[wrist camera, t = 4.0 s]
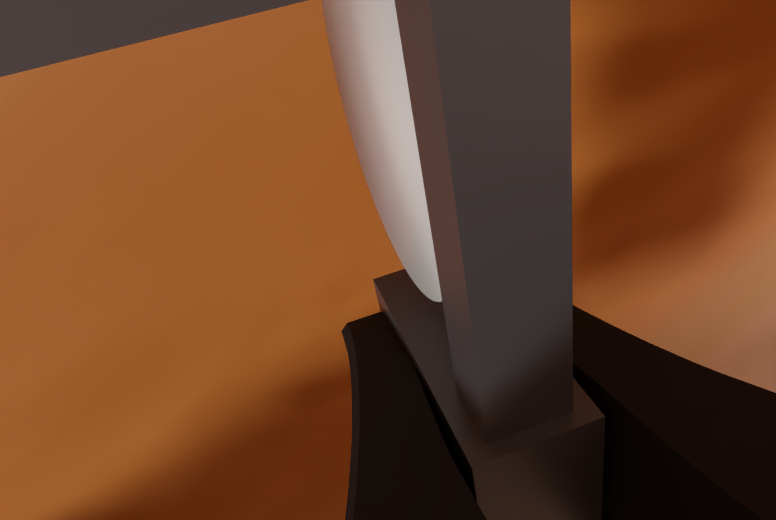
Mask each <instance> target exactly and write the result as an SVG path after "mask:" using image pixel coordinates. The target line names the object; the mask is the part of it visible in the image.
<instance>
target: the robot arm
mask: <svg viewBox="0 0 776 520" xmlns="http://www.w3.org/2000/svg"><path fill="white" fill-rule="evenodd" d="M342 334H343V338H344V341H345V345H346V348H347V352H348V356H349V362H350V371H351V384H352V447H351V462H350V477H349V490H348V500H347V509H346V517H345V520H487V519H486V517H485V516H484V514H483V512H482V510H481V509H480V507H479V505H478V503H477V502H476V500H475V498H474V496H473V495H472V493H471V491H470V489H469V488H468V486H467V484H466V482H465V481H464V479H463V477H462V475H461V473H460V472H459V470H458V468H457V466H456V465H455V463H454V461H453V459H452V457H451V455H450V452H449V450H448V448H447V446H446V444H445V442H444V440H443V437H442V435H441V433H440V430H439V428H438V425H437V423H436V420H435V418H434V415H433V413H432V410H431V408H430V405H429V402H428V400H427V397H426V395H425V392H424V390H423V387H422V385H421V382H420V380H419V377H418V375H417V372H416V370H415V367H414V365H413V362H412V360H411V357H410V355H409V353H408V352H407V350H406V348H405V346H404V345H403V343H402V342H401V340H400V338H399V337H398V335H397V333H396V332H395V330H394V329H393V327H392V325H391V324H390V323H389V321H388V320H387V318H386V317H385V315H384V314H383V312H379V313H376V314H373V315H370V316H367V317H364V318H361V319H358V320H355V321H352V322H349V323H347V324H346V326H345V327H344V328H343V330H342ZM573 378H574V379H575V380H576V382H577V383H578V384H579V385H580V386H581V388H582V389H583V390H584V391H585V393H586V394H587V395H588V396H589V397H590V399H591V400H592V401H593V402H594V403H595V405H596V406H597V407H598V408H599V410H600V411H601V412H602V413H603V414H604V416H605V440H604V468H603V497H602V520H776V393H774V392H771V391H768V390H766V389H763V388H760V387H757V386H755V385H752V384H749V383H746V382H744V381H741V380H738V379H735V378H733V377H730V376H727V375H724V374H721V373H719V372H716V371H714V370H711V369H709V368H706V367H704V366H701V365H699V364H696V363H694V362H692V361H689V360H687V359H685V358H682V357H680V356H678V355H675V354H673V353H671V352H669V351H666V350H664V349H662V348H659V347H657V346H655V345H653V344H650V343H648V342H646V341H644V340H642V339H640V338H637V337H635V336H633V335H631V334H629V333H627V332H625V331H623V330H621V329H619V328H617V327H614V326H612V325H610V324H608V323H606V322H604V321H602V320H601V319H599V318H597V317H595V316H593V315H591V314H589V313H587V312H585V311H583V310H581V309H579V308H577V307H575V306H573Z"/></svg>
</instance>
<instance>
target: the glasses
mask: <svg viewBox="0 0 776 520" xmlns="http://www.w3.org/2000/svg"><path fill="white" fill-rule="evenodd" d="M302 1H306V0H0V77H2V76H6V75H10V74H14V73H18V72H22V71H26V70H30V69H34V68H38V67H42V66H46V65H50V64H54V63H58V62H62V61H66V60H70V59H74V58H78V57H82V56H86V55H90V54H94V53H98V52H102V51H106V50H110V49H114V48H118V47H122V46H126V45H130V44H134V43H138V42H142V41H146V40H150V39H154V38H158V37H162V36H166V35H170V34H174V33H178V32H182V31H186V30H190V29H194V28H198V27H202V26H206V25H210V24H214V23H218V22H222V21H226V20H230V19H234V18H238V17H242V16H246V15H250V14H254V13H258V12H262V11H266V10H270V9H274V8H278V7H282V6H286V5H290V4H294V3H298V2H302ZM322 5H323V12H324V18H325V24H326V30H327V36H328V41H329V46H330V51H331V56H332V61H333V65H334V70H335V74H336V79H337V83H338V87H339V91H340V95H341V99H342V103H343V107H344V111H345V114H346V118H347V121H348V125H349V129H350V132H351V135H352V139H353V142H354V145H355V149H356V152H357V155H358V158H359V161H360V164H361V167H362V170H363V173H364V176H365V179H366V182H367V184H368V187H369V190H370V193H371V195H372V198H373V201H374V203H375V206H376V208H377V211H378V213H379V216H380V218H381V221H382V223H383V225H384V227H385V230H386V232H387V234H388V236H389V239H390V241H391V243H392V245H393V247H394V249H395V251H396V253H397V255H398V257H399V259H400V261H401V262H402V264H403V266H404V268H405V269H403V270H400V271H397V272H394V273H391V274H388V275H385V276H382V277H379V278H376V279H373V281H374V285H375V289H376V294H377V298H378V302H379V306H380V311H381V312H383V314H384V315H385V317H386V318H387V320H388V321H389V323H390V324H391V325H392V327H393V329H394V330H395V332H396V333H397V335H398V337H399V338H400V340H401V342H402V343H403V345H404V346H405V348H406V350H407V352H408V353H409V355H410V357H411V360H412V362H413V365H414V367H415V370H416V372H417V375H418V377H419V380H420V382H421V385H422V387H423V390H424V392H425V395H426V397H427V400H428V402H429V405H430V408H431V410H432V413H433V415H434V418H435V420H436V423H437V425H438V428H439V430H440V433H441V435H442V437H443V440H444V442H445V444H446V446H447V448H448V450H449V452H450V455H451V457H452V459H453V461H454V463H455V465H456V466H457V468H458V470H459V472H460V473H461V475H462V477H463V479H464V481H465V482H466V484H467V486H468V488H469V489H470V491H471V493H472V495H473V496H474V498H475V500H476V502H477V503H478V505H479V507H480V509H481V510H482V512H483V514H484V516H485V517H486V519H487V520H602V497H603V468H604V440H605V416H604V414H603V413H602V412H601V411H600V410H599V408H598V407H597V406H596V405H595V403H594V402H593V401H592V400H591V399H590V397H589V396H588V395H587V394H586V393H585V391H584V390H583V389H582V388H581V386H580V385H579V384H578V383H577V382H576V380H575V379H574V378H573V303H572V170H571V38H570V0H322Z"/></svg>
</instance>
